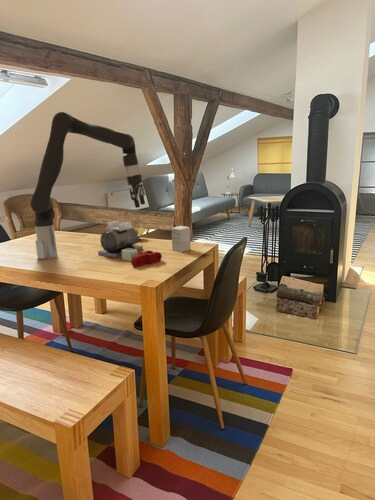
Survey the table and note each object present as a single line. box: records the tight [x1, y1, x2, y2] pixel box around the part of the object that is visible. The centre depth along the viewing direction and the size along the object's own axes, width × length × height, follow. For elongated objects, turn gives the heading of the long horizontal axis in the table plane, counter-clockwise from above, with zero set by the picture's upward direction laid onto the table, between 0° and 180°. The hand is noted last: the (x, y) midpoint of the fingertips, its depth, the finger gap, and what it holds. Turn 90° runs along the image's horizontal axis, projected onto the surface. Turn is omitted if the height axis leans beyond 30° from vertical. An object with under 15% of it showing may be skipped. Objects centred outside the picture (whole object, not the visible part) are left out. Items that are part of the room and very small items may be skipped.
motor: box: [97, 220, 144, 259], centre depth 209 cm, size 20×14×16 cm
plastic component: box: [135, 226, 145, 241], centre depth 237 cm, size 20×7×10 cm
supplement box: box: [171, 225, 192, 253], centre depth 209 cm, size 7×7×13 cm
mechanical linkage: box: [130, 249, 162, 268], centre depth 188 cm, size 16×7×5 cm, turn 141°
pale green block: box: [121, 248, 138, 262], centre depth 196 cm, size 5×8×5 cm, turn 55°
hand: (140, 205), depth 200 cm, fingers open, 8 cm apart
